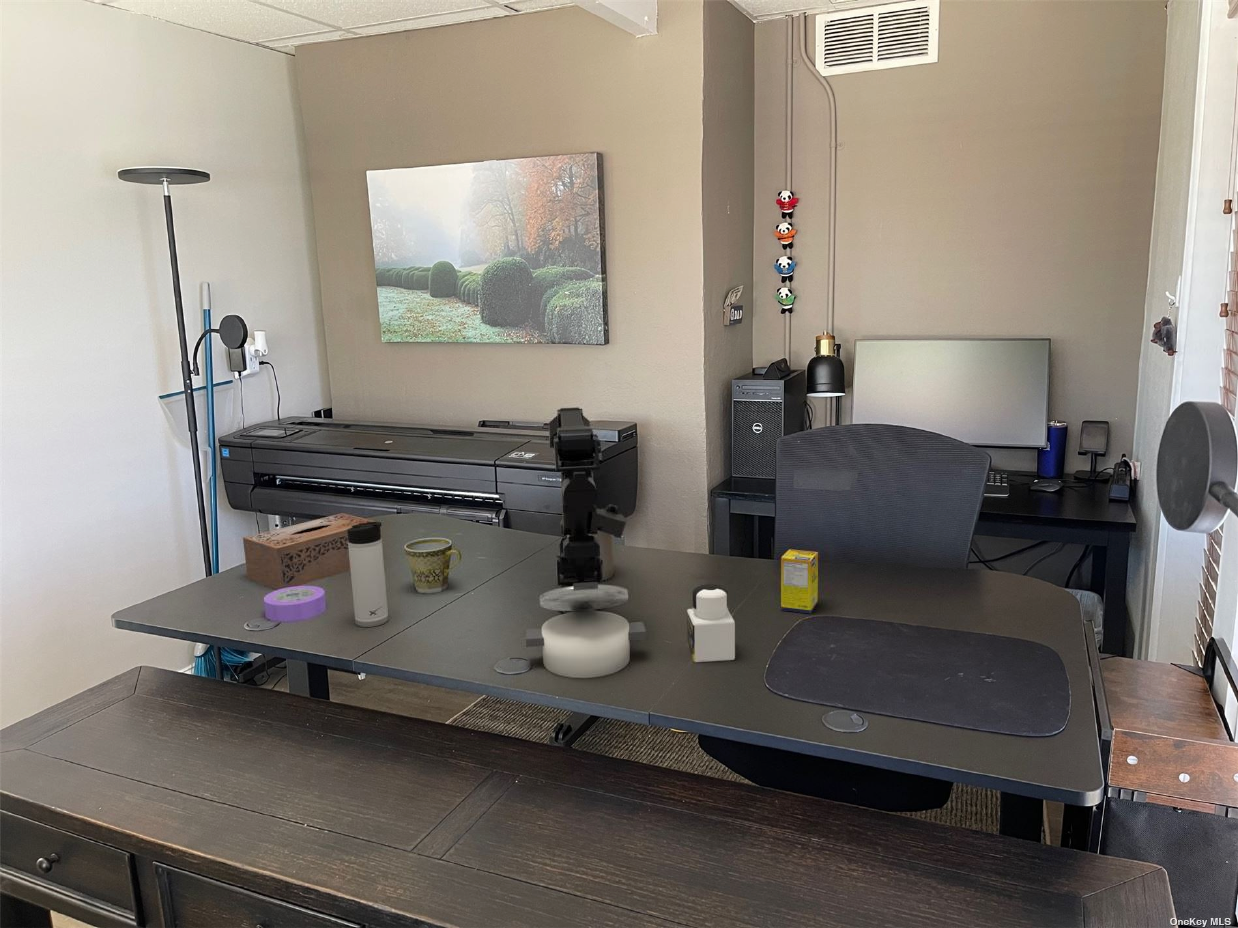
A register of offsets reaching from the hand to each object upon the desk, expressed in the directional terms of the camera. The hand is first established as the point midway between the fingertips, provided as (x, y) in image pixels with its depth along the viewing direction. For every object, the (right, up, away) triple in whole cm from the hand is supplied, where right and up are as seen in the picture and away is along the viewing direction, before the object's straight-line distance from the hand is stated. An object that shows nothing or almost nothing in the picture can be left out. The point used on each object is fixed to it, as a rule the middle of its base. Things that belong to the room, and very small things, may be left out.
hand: (581, 580), depth 163 cm
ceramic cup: (-32, -6, +30) cm, 44 cm away
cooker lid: (+1, -2, -10) cm, 10 cm away
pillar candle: (+1, -4, +35) cm, 35 cm away
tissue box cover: (-64, -4, +46) cm, 79 cm away
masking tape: (-59, -9, +19) cm, 63 cm away
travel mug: (-41, -10, +12) cm, 44 cm away
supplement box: (+42, -7, +13) cm, 45 cm away
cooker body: (+1, -12, -8) cm, 15 cm away
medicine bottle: (+23, -12, -7) cm, 27 cm away
